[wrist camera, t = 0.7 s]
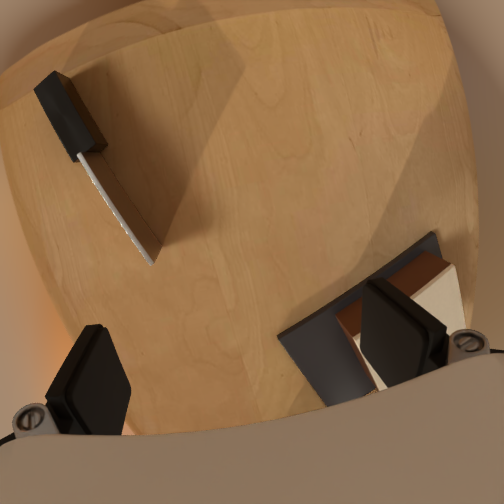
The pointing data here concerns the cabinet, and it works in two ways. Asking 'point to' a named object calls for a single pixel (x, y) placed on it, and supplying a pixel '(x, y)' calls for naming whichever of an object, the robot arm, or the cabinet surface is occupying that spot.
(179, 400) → the cabinet surface
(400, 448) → the robot arm
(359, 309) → the cake slice
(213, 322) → the cabinet surface
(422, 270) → the cake
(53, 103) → the cake knife
